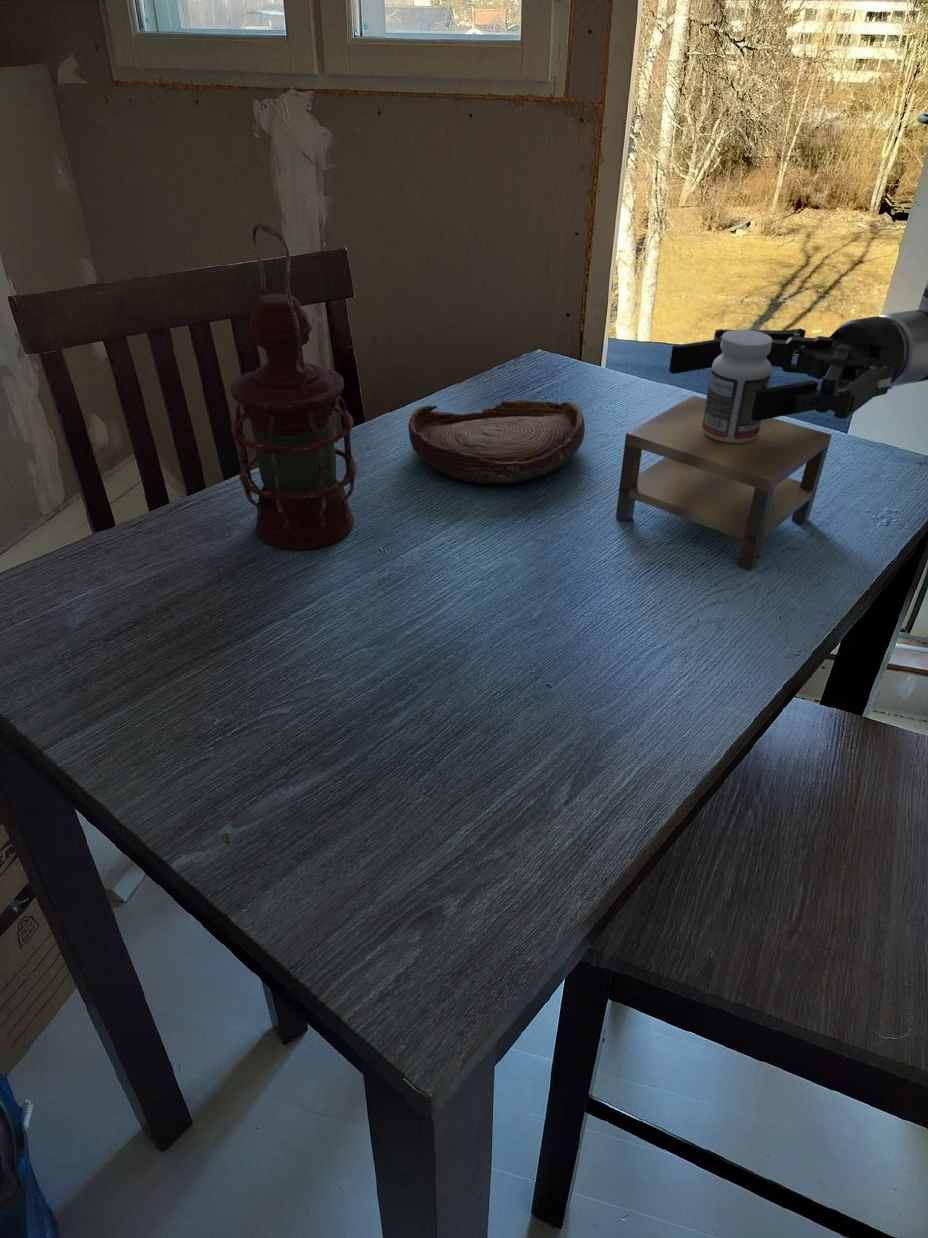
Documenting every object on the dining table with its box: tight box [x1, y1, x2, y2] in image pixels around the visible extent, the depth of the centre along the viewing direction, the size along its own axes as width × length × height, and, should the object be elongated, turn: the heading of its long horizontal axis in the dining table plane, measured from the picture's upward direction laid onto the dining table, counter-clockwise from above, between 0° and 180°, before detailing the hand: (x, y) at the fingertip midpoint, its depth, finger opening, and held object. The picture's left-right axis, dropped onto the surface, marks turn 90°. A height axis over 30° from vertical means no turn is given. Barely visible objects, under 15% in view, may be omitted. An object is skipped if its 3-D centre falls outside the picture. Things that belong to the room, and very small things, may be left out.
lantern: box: [230, 223, 358, 551], centre depth 83 cm, size 12×12×30 cm
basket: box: [408, 399, 586, 485], centre depth 105 cm, size 22×20×5 cm
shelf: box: [615, 395, 833, 571], centre depth 91 cm, size 16×14×10 cm
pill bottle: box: [702, 329, 773, 443], centre depth 85 cm, size 6×6×10 cm
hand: (711, 381), depth 83 cm, fingers open, 13 cm apart
